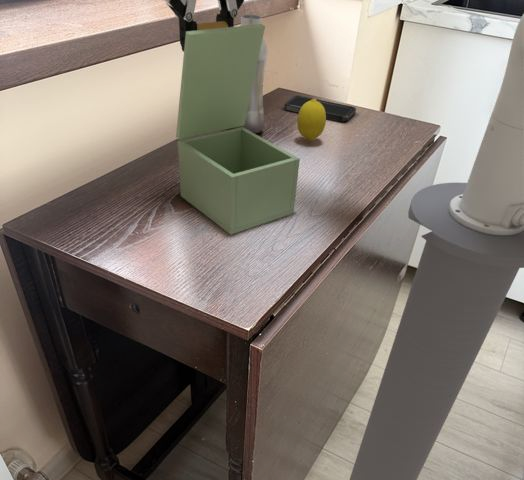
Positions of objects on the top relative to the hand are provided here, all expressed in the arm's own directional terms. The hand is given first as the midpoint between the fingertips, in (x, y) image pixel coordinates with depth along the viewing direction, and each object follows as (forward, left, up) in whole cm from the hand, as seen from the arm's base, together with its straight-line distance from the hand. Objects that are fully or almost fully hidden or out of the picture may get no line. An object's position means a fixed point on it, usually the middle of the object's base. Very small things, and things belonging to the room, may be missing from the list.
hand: (207, 49), depth 71 cm
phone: (+18, -42, -20) cm, 50 cm away
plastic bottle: (+16, -20, -20) cm, 33 cm away
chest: (-8, 0, -20) cm, 22 cm away
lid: (-3, 0, -4) cm, 5 cm away
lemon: (+6, -28, -20) cm, 35 cm away
